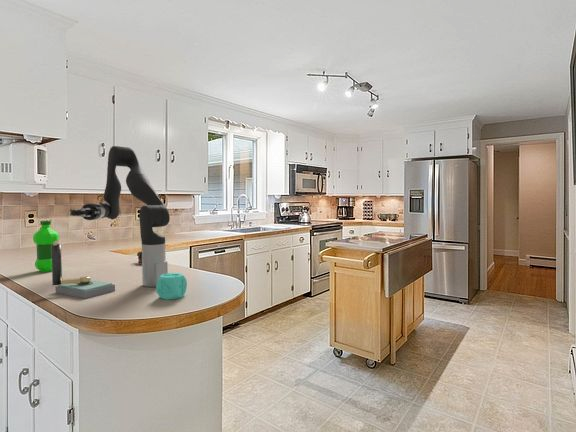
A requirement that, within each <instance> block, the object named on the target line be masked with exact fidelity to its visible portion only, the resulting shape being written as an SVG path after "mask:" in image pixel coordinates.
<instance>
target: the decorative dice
mask: <svg viewBox="0 0 576 432" xmlns="http://www.w3.org/2000/svg"><path fill="white" fill-rule="evenodd" d="M187 287H188V282H187V279H186V276H185V275H184V274H183V273H179V272H168V273H167V274H163V275H161V276H160V277H159V279H158V281H157V284H156V287H155V291H156V293H157V295H158V297H159V298H161V299H162V300H168V301H169V300H170V301H171V300H177V299H180V298H182V297H184V296H185V294H186V292H187Z"/></svg>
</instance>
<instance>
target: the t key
mask: <svg viewBox="0 0 576 432" xmlns="http://www.w3.org/2000/svg"><path fill="white" fill-rule="evenodd" d="M51 254H52V271H51V274H52V275H51V276H52V277H51V278H52V280H51V281H52V286H58V285H62V284H72V283H81V284H85V283H90V282H91V280H92V279H91V278H92V277H91V276H89V275H87V276H80V277H78V278H69V279H63V270H62V269H63V268H62V264H63V263H62V244H61V243H59V240H58V241H55V242H54V243H53V244H52V245H51Z"/></svg>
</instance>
